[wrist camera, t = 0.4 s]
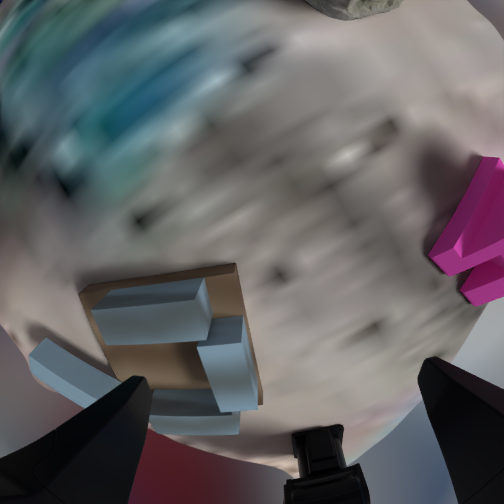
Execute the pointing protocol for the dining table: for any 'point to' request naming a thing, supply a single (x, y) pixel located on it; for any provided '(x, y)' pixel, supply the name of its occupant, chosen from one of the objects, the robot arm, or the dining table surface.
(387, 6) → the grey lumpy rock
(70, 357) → the folding leg
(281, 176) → the dining table surface
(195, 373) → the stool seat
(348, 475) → the robot arm
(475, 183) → the magenta blocky figure
